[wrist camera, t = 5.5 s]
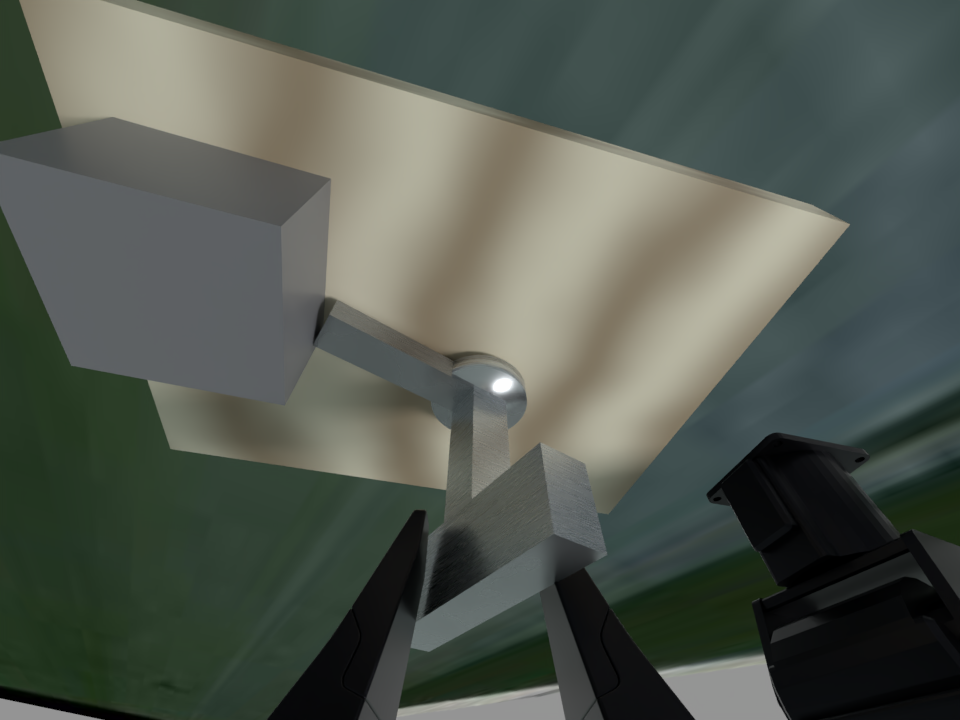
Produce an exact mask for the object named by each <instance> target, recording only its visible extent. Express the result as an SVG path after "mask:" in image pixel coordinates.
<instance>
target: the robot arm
mask: <svg viewBox="0 0 960 720" xmlns="http://www.w3.org/2000/svg"><path fill="white" fill-rule="evenodd" d="M869 459H870V455H869V454H868V453H867V452H866V451H865V450H864V449H861V448H856V447H850V446H845V445H840V444H835V443H830V442H825V441H820V440H815V439H810V438H805V437H800V436H795V435H789V434H784V433H778V432H776V433H772V434H769V435H768V436H766V437H765V438H764V439H763V440H762V441H761V442H760V443H759V444H758V445H757V446H756V447H755V448H754V449H753V450H751V451H750V452H749V453H748V454H747V455H746V456H745V457H744V458H743V459H742V460H741V461H740V462H739V463H738V464H737V465H736V466H735V467H734V468H733V469H732V470H731V471H729V472H728V473H727V474H726V475H725V476H724V477H723V478H722V479H721V480H720V481H719V482H718V483H717V484H716V485H715V486H714V487H713V488H712V489H711V490H710V491H708V492H707V494H706V496H707V498H708V500H709V502H710V503H713V504H719V505H726V506H731V508H732V509H733V511H734V513H735V515H736V517H737V519H738V521H739V523H740V524H741V526H742V528H743V530H744V532H745V534H746V536H747V538H748V539H749V541H750V543H751V545H752V547H753V549H754V550H755V551H757V552H759V553H760V555H761V557H762V559H763V560H764V562H765V564H766V566H767V568H768V570H769V572H770V573H771V575H772V577H773V579H774V581H775V583H776V585H777V586H780V587H786V589H784V590H782V591H780V592H777V593H775V594H773V595H771V596H769V597H766V598H764V599H763V598H759V599H757V600H755V601H753V602H752V607H753V611H754V615H755V619H756V623H757V627H758V631H759V635H760V639H761V643H762V647H763V651H764V655H765V659H766V663H767V667H768V671H769V676H770V679H771V683H772V687H773V690H774V693H775V696H776V699H777V702H778V704H779V706H780V707H781V709H782V711H783V712H784V714H785V716H786V718H787V719H788V720H960V546H957V545H954V544H952V543H949V542H946V541H944V540H941V539H938V538H936V537H933V536H930V535H928V534H925V533H922V532H919V531H917V530H914V529H911V530H909V531H906V532H904V533H902V534H900V533H899V532H898V530H897V529H896V528H895V527H894V526H893V524H892V523H891V522H890V521H889V520H888V519H887V517H886V516H885V515H884V514H883V513H882V511H881V510H880V509H879V508H878V507H877V505H876V504H875V503H874V502H873V501H872V500H871V498H870V497H869V496H868V495H867V494H866V492H865V491H864V490H863V489H862V488H861V487H860V485H859V484H858V483H857V482H856V481H855V479H854V478H853V477H852V476H851V475H850V473H852V472H853V471H855V470H856V469H857V468H859V467H860V466H861V465H863V464H864V463H865V462H867V461H868V460H869ZM428 533H429V522H428V515H427V511H426V510H414V511H413V512H412V514H411V515H410V517H409V518H408V520H407V521H406V523H405V525H404V526H403V528H402V529H401V531H400V532H399V534H398V535H397V537H396V538H395V540H394V542H393V543H392V545H391V546H390V548H389V549H388V551H387V552H386V554H385V556H384V557H383V559H382V560H381V562H380V563H379V565H378V566H377V568H376V569H375V571H374V573H373V574H372V576H371V577H370V579H369V580H368V582H367V583H366V585H365V587H364V588H363V590H362V591H361V593H360V594H359V596H358V597H357V599H356V600H355V602H354V604H353V605H352V609H349V611H348V612H347V614H346V615H345V617H344V619H343V620H342V622H341V623H340V625H339V626H338V627H337V629H336V630H335V632H334V633H333V635H332V636H331V638H330V639H329V640H328V642H327V643H326V644H325V646H324V647H323V648H322V650H321V651H320V652H319V654H318V655H317V656H316V658H315V659H314V660H313V661H312V663H311V664H310V665H309V666H308V668H307V669H306V670H305V671H304V673H303V674H302V675H301V677H300V678H299V679H298V680H297V682H296V683H295V684H294V685H293V687H292V688H291V689H290V690H289V692H288V693H287V694H286V695H285V697H284V698H283V699H282V701H281V702H280V703H279V704H278V706H277V707H276V708H275V709H274V711H273V712H272V713H271V714H270V716H269V717H268V718H267V720H396V717H397V712H398V707H399V702H400V697H401V692H402V688H403V683H404V678H405V673H406V668H407V663H408V658H409V653H410V648H411V643H412V638H413V633H414V628H415V623H416V618H417V613H418V608H419V603H420V598H421V593H422V588H423V583H424V578H425V570H426V558H427V546H428ZM932 586H933V587H934V588H933V587H932ZM540 597H541V602H542V607H543V612H544V617H545V622H546V627H547V632H548V637H549V642H550V647H551V651H552V656H553V661H554V666H555V671H556V676H557V681H558V686H559V691H560V696H561V701H562V705H563V710H564V715H565V720H695V718H694V717H693V716H692V715H691V713H690V712H689V711H688V710H687V708H686V707H685V706H684V705H683V703H682V702H681V701H680V699H679V698H678V697H677V696H676V694H675V693H674V692H673V691H672V689H671V688H670V687H669V686H668V684H667V683H666V682H665V681H664V679H663V678H662V677H661V676H660V674H659V673H658V672H657V671H656V669H655V668H654V667H653V665H652V664H651V663H650V662H649V660H648V659H647V658H646V657H645V655H644V654H643V653H642V651H641V650H640V649H639V647H638V646H637V645H636V644H635V642H634V641H633V640H632V638H631V637H630V635H629V634H628V632H627V631H626V630H625V628H624V627H623V625H622V624H621V622H620V621H619V619H618V618H617V616H616V615H615V613H614V612H613V610H612V609H610V606H609V604H608V603H607V601H606V600H605V598H604V597H603V595H602V594H601V592H600V590H599V589H598V587H597V586H596V584H595V583H594V581H593V580H592V578H591V577H590V575H589V574H588V572H587V570H586V569H585V567H584V568H582V569H581V570H579V571H577V572H575V573H573V574H571V575H569V576H568V577H566V578H564V579H562V580H560V581H557V582H554V584H553V585H551V586H549V587H547V588H546V589H544V590H542V591H540Z"/></svg>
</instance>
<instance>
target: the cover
mask: <svg viewBox="0 0 960 720" xmlns="http://www.w3.org/2000/svg"><path fill="white" fill-rule="evenodd" d="M330 192H331V179H330V178H327V177H323V176H320V175H316V174H313V173H309V172H306V171H302V170H299V169H295V168H291V167H288V166H284V165H281V164H277V163H274V162H270V161H267V160H263V159H260V158H256V157H253V156H249V155H246V154H242V153H238V152H235V151H231V150H228V149H224V148H221V147H217V146H214V145H210V144H207V143H203V142H200V141H196V140H193V139H189V138H185V137H182V136H178V135H175V134H171V133H168V132H164V131H161V130H157V129H154V128H150V127H147V126H143V125H140V124H136V123H132V122H129V121H125V120H122V119H118V118H115V117H110V118H106V119H101V120H97V121H92V122H87V123H83V124H78V125H74V126H69V127H65V128H60V129H55V130H51V131H46V132H42V133H37V134H33V135H28V136H24V137H19V138H14V139H10V140H5V141H1V142H0V206H1V209H2V211H3V213H4V215H5V218H6V220H7V222H8V224H9V227H10V229H11V231H12V233H13V236H14V238H15V240H16V242H17V245H18V247H19V249H20V251H21V254H22V256H23V258H24V260H25V263H26V265H27V267H28V269H29V272H30V274H31V276H32V278H33V281H34V283H35V285H36V287H37V290H38V292H39V294H40V296H41V299H42V301H43V303H44V305H45V308H46V310H47V312H48V314H49V317H50V319H51V321H52V323H53V326H54V328H55V330H56V332H57V335H58V337H59V339H60V341H61V344H62V346H63V348H64V350H65V353H66V355H67V357H68V359H69V362H70V364H71V366H76V367H81V368H87V369H92V370H97V371H103V372H108V373H113V374H119V375H124V376H129V377H135V378H140V379H145V380H151V381H156V382H161V383H167V384H172V385H177V386H183V387H188V388H193V389H199V390H204V391H210V392H215V393H220V394H226V395H231V396H236V397H242V398H247V399H252V400H258V401H263V402H268V403H274V404H279V405H284V406H285V405H286V403H287V401H288V399H289V397H290V395H291V393H292V391H293V389H294V388H295V386H296V384H297V382H298V380H299V378H300V376H301V374H302V372H303V371H304V369H305V367H306V365H307V363H308V361H309V359H310V357H311V355H312V354H313V352H314V350H315V348H316V347H315V346H313V344H314V342H315V340H316V338H317V337H318V335H319V333H320V331H321V329H322V327H323V325H324V307H325V288H326V268H327V249H328V230H329V211H330Z"/></svg>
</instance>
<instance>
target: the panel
mask: <svg viewBox="0 0 960 720" xmlns="http://www.w3.org/2000/svg"><path fill="white" fill-rule="evenodd" d="M19 1H20V4H21V7H22V10H23V13H24V16H25V19H26V22H27V25H28V28H29V31H30V34H31V37H32V40H33V43H34V46H35V49H36V52H37V55H38V58H39V60H40V63H41V66H42V69H43V72H44V75H45V78H46V81H47V84H48V87H49V90H50V93H51V96H52V99H53V102H54V105H55V108H56V111H57V114H58V117H59V120H60V123H61V126H62V128H65V127H69V126H74V125H78V124H83V123H87V122H92V121H97V120H101V119H106V118H110V117H115V118H118V119H122V120H125V121H129V122H132V123H136V124H140V125H143V126H147V127H150V128H154V129H157V130H161V131H164V132H168V133H171V134H175V135H178V136H182V137H185V138H189V139H193V140H196V141H200V142H203V143H207V144H210V145H214V146H217V147H221V148H224V149H228V150H231V151H235V152H238V153H242V154H246V155H249V156H253V157H256V158H260V159H263V160H267V161H270V162H274V163H277V164H281V165H284V166H288V167H291V168H295V169H299V170H302V171H306V172H309V173H313V174H316V175H320V176H323V177H327V178H330V179H331V192H330V211H329V230H328V249H327V268H326V288H325V307H324V324H325V322H326V320H327V318H328V316H329V314H330V312H331V311H332V309H333V307H334V305H335V303H336V301H337V300H339V301H341V302H342V303H344V304H346V305H348V306H350V307H352V308H354V309H356V310H358V311H360V312H361V313H363V314H365V315H367V316H369V317H371V318H373V319H375V320H377V321H379V322H381V323H382V324H384V325H386V326H388V327H390V328H392V329H394V330H396V331H398V332H400V333H401V334H403V335H405V336H407V337H409V338H411V339H413V340H415V341H417V342H419V343H420V344H422V345H424V346H426V347H428V348H430V349H432V350H434V351H436V352H438V353H440V354H441V355H443V356H445V357H447V358H449V359H451V360H453V361H454V360H456V359H458V358H461V357H465V356H470V355H488V356H493V357H497V358H500V359H502V360H504V361H506V362H508V363H510V364H511V365H513V366H514V367H515V368H516V369H517V370H518V371H519V372H520V374H521V375H522V377H523V380H524V383H525V388H526V396H527V407H526V411H525V413H524V415H523V417H522V418H521V419H520V420H519V422H518V423H516V424H515V425H514V426H513V427H511V428H510V429H508V439H509V453H510V467H511V466H512V465H513V464H515V463H516V462H517V461H518V460H519V459H521V458H522V457H523V456H524V455H525V454H527V453H528V452H529V451H530V450H531V449H533V448H534V447H535V446H536V445H537V444H539V443H540V442H541V443H543V444H545V445H547V446H549V447H551V448H554V449H556V450H558V451H560V452H562V453H564V454H566V455H568V456H570V457H572V458H574V459H576V460H578V461H580V462H582V463H584V464H585V465H586V469H587V473H588V477H589V482H590V486H591V490H592V494H593V498H594V502H595V506H596V510H597V513H603V514H609V513H610V512H611V511H612V509H613V508H614V507H615V506H616V505H617V503H618V502H619V501H620V500H621V499H622V497H623V496H624V495H625V494H626V493H627V491H628V490H629V489H630V488H631V487H632V485H633V484H634V483H635V482H636V481H637V479H638V478H639V477H640V476H641V475H642V473H643V472H644V471H645V470H646V469H647V467H648V466H649V465H650V464H651V463H652V461H653V460H654V459H655V458H656V457H657V455H658V454H659V453H660V452H661V451H662V449H663V448H664V447H665V446H666V445H667V443H668V442H669V441H670V440H671V439H672V437H673V436H674V435H675V434H676V433H677V432H678V430H679V429H680V428H681V427H682V426H683V424H684V423H685V422H686V421H687V420H688V418H689V417H690V416H691V415H692V414H693V412H694V411H695V410H696V409H697V408H698V406H699V405H700V404H701V403H702V402H703V400H704V399H705V398H706V397H707V396H708V394H709V393H710V392H711V391H712V390H713V388H714V387H715V386H716V385H717V384H718V382H719V381H720V380H721V379H722V378H723V376H724V375H725V374H726V373H727V372H728V370H729V369H730V368H731V367H732V366H733V364H734V363H735V362H736V361H737V360H738V358H739V357H740V356H741V355H742V354H743V352H744V351H745V350H746V349H747V348H748V346H749V345H750V344H751V343H752V342H753V340H754V339H755V338H756V337H757V336H758V334H759V333H760V332H761V331H762V330H763V328H764V327H765V326H766V325H767V324H768V322H769V321H770V320H771V319H772V318H773V316H774V315H775V314H776V313H777V312H778V310H779V309H780V308H781V307H782V306H783V304H784V303H785V302H786V301H787V300H788V298H789V297H790V296H791V295H792V294H793V293H794V291H795V290H796V289H797V288H798V287H799V285H800V284H801V283H802V282H803V281H804V279H805V278H806V277H807V276H808V275H809V273H810V272H811V271H812V270H813V269H814V267H815V266H816V265H817V264H818V263H819V261H820V260H821V259H822V258H823V257H824V255H825V254H826V253H827V252H828V251H829V249H830V248H831V247H832V246H833V245H834V243H835V242H836V241H837V240H838V239H839V237H840V236H841V235H842V234H843V233H844V231H845V230H846V229H847V228H848V227H849V225H850V224H849V223H847V222H845V221H843V220H841V219H839V218H837V217H835V216H833V215H831V214H829V213H827V212H825V211H823V210H821V209H819V208H817V207H815V206H813V205H811V204H808V203H805V202H801V201H798V200H795V199H791V198H788V197H785V196H781V195H778V194H775V193H772V192H768V191H765V190H762V189H758V188H755V187H752V186H748V185H745V184H742V183H739V182H735V181H732V180H729V179H725V178H722V177H719V176H715V175H712V174H709V173H705V172H702V171H699V170H696V169H692V168H689V167H686V166H682V165H679V164H676V163H672V162H669V161H666V160H663V159H659V158H656V157H653V156H649V155H646V154H643V153H639V152H636V151H633V150H629V149H626V148H623V147H620V146H616V145H613V144H610V143H606V142H603V141H600V140H596V139H593V138H590V137H587V136H583V135H580V134H577V133H573V132H570V131H567V130H563V129H560V128H557V127H553V126H550V125H547V124H544V123H540V122H537V121H534V120H530V119H527V118H524V117H520V116H517V115H514V114H511V113H507V112H504V111H501V110H497V109H494V108H491V107H487V106H484V105H481V104H477V103H474V102H471V101H468V100H464V99H461V98H458V97H454V96H451V95H448V94H444V93H441V92H438V91H435V90H431V89H428V88H425V87H421V86H418V85H415V84H411V83H408V82H405V81H402V80H398V79H395V78H392V77H388V76H385V75H382V74H378V73H375V72H372V71H368V70H365V69H362V68H359V67H355V66H352V65H349V64H345V63H342V62H339V61H335V60H332V59H329V58H326V57H322V56H319V55H316V54H312V53H309V52H306V51H302V50H299V49H296V48H292V47H289V46H286V45H283V44H279V43H276V42H273V41H269V40H266V39H263V38H259V37H256V36H253V35H250V34H246V33H243V32H240V31H236V30H233V29H230V28H226V27H223V26H220V25H216V24H213V23H210V22H207V21H203V20H200V19H197V18H193V17H190V16H187V15H183V14H180V13H177V12H174V11H170V10H167V9H164V8H160V7H157V6H154V5H150V4H147V3H144V2H140V1H137V0H19ZM147 381H148V384H149V387H150V390H151V392H152V395H153V398H154V401H155V404H156V407H157V410H158V413H159V416H160V419H161V422H162V425H163V428H164V431H165V434H166V437H167V440H168V443H169V446H170V449H174V450H180V451H187V452H194V453H201V454H207V455H214V456H221V457H227V458H234V459H241V460H248V461H254V462H261V463H268V464H274V465H281V466H288V467H295V468H301V469H308V470H315V471H321V472H328V473H335V474H342V475H348V476H355V477H362V478H368V479H375V480H382V481H389V482H395V483H402V484H409V485H415V486H422V487H429V488H436V489H442V490H446V488H447V475H448V461H449V448H450V435H451V430H450V429H449V428H447V427H446V426H444V425H443V424H442V423H441V422H440V421H439V420H438V419H437V418H436V416H435V415H434V413H433V411H432V407H431V401H429V400H427V399H425V398H423V397H421V396H419V395H417V394H415V393H412V392H410V391H408V390H406V389H404V388H402V387H400V386H398V385H396V384H393V383H391V382H389V381H387V380H385V379H383V378H381V377H379V376H376V375H374V374H372V373H370V372H368V371H366V370H364V369H362V368H360V367H357V366H355V365H353V364H351V363H349V362H347V361H345V360H343V359H341V358H338V357H336V356H334V355H332V354H330V353H328V352H326V351H324V350H322V349H319V348H317V347H316V348H315V350H314V352H313V354H312V355H311V357H310V359H309V361H308V363H307V365H306V367H305V369H304V371H303V372H302V374H301V376H300V378H299V380H298V382H297V384H296V386H295V388H294V389H293V391H292V393H291V395H290V397H289V399H288V401H287V403H286V405H285V406H284V405H279V404H274V403H268V402H263V401H258V400H252V399H247V398H242V397H236V396H231V395H226V394H220V393H215V392H210V391H204V390H199V389H193V388H188V387H183V386H177V385H172V384H167V383H161V382H156V381H151V380H147Z"/></svg>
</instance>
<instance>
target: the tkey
mask: <svg viewBox="0 0 960 720" xmlns="http://www.w3.org/2000/svg"><path fill="white" fill-rule="evenodd" d="M313 346H315V347H317V348H319V349H322V350H324V351H326V352H328V353H330V354H332V355H334V356H336V357H338V358H341V359H343V360H345V361H347V362H349V363H351V364H353V365H355V366H357V367H360V368H362V369H364V370H366V371H368V372H370V373H372V374H374V375H376V376H379V377H381V378H383V379H385V380H387V381H389V382H391V383H393V384H396V385H398V386H400V387H402V388H404V389H406V390H408V391H410V392H412V393H415V394H417V395H419V396H421V397H423V398H425V399H427V400H429V401H431V407H432V411H433V413H434V415H435V416H436V418H437V419H438V420H439V421H440V422H441V423H442V424H443V425H444V426H446V427H447V428H449V429H450V430H451V435H450V448H449V461H448V475H447V488H446V501H445V514H444V523H443V524H442V525H440V526H439V527H438V528H437V529H436V530H435V531H433V532H432V533H431V534H430V535H429V536H428V546H427V558H426V570H425V578H424V583H423V588H422V593H421V598H420V603H419V608H418V613H417V618H416V623H415V628H414V633H413V638H412V643H411V648H414V649H419V650H423V651H428V652H430V651H431V650H433V649H435V648H437V647H439V646H441V645H443V644H444V643H446V642H448V641H450V640H452V639H454V638H455V637H457V636H459V635H461V634H463V633H465V632H466V631H468V630H470V629H472V628H474V627H476V626H477V625H479V624H481V623H483V622H485V621H487V620H489V619H490V618H492V617H494V616H496V615H498V614H500V613H501V612H503V611H505V610H507V609H509V608H511V607H512V606H514V605H516V604H518V603H520V602H522V601H523V600H525V599H527V598H529V597H531V596H533V595H535V594H536V593H538V592H540V591H542V590H544V589H546V588H547V587H549V586H551V585H553V584H554V582H557V581H560V580H562V579H564V578H566V577H568V576H569V575H571V574H573V573H575V572H577V571H579V570H581V569H582V568H584V567H586V566H588V565H590V564H592V563H593V562H595V561H597V560H599V559H601V558H603V557H604V556H606V555H607V551H606V547H605V543H604V539H603V535H602V531H601V526H600V522H599V518H598V514H597V510H596V506H595V502H594V498H593V494H592V490H591V486H590V482H589V477H588V473H587V469H586V465H585V464H584V463H582V462H580V461H578V460H576V459H574V458H572V457H570V456H568V455H566V454H564V453H562V452H560V451H558V450H556V449H554V448H551V447H549V446H547V445H545V444H543V443H541V442H540V443H539V444H537V445H536V446H535V447H534V448H533V449H531V450H530V451H529V452H528V453H527V454H525V455H524V456H523V457H522V458H521V459H519V460H518V461H517V462H516V463H515V464H513V465H512V466H511V467H510V453H509V439H508V429H510V428H511V427H513V426H514V425H515V424H516V423H518V422H519V420H520V419H521V418H522V417H523V415H524V413H525V411H526V407H527V396H526V388H525V383H524V380H523V377H522V375H521V374H520V372H519V371H518V370H517V369H516V368H515V367H514V366H513V365H511V364H510V363H508V362H506V361H504V360H502V359H500V358H497V357H493V356H488V355H470V356H465V357H461V358H458V359H456V360H454V361H453V360H451V359H449V358H447V357H445V356H443V355H441V354H440V353H438V352H436V351H434V350H432V349H430V348H428V347H426V346H424V345H422V344H420V343H419V342H417V341H415V340H413V339H411V338H409V337H407V336H405V335H403V334H401V333H400V332H398V331H396V330H394V329H392V328H390V327H388V326H386V325H384V324H382V323H381V322H379V321H377V320H375V319H373V318H371V317H369V316H367V315H365V314H363V313H361V312H360V311H358V310H356V309H354V308H352V307H350V306H348V305H346V304H344V303H342V302H341V301H339V300H337V301H336V303H335V305H334V307H333V309H332V311H331V312H330V314H329V316H328V318H327V320H326V322H325V324H324V325H323V327H322V329H321V331H320V333H319V335H318V337H317V338H316V340H315V342H314V344H313Z"/></svg>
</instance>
